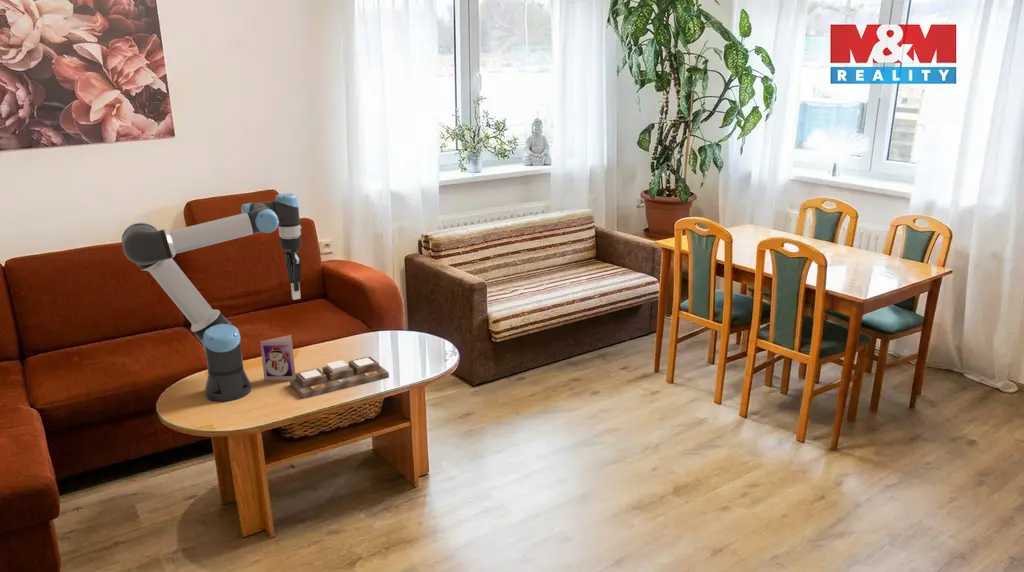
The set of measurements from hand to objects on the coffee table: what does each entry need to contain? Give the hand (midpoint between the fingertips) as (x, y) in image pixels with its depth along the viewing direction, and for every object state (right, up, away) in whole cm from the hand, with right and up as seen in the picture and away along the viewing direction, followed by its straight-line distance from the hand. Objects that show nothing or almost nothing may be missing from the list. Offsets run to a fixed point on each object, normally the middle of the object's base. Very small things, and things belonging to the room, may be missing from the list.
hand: (296, 298), depth 293 cm
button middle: (+17, -26, -7) cm, 32 cm away
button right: (+25, -25, -2) cm, 36 cm away
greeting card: (-4, -29, -3) cm, 29 cm away
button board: (+18, -30, -8) cm, 35 cm away
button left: (+9, -29, -12) cm, 32 cm away
